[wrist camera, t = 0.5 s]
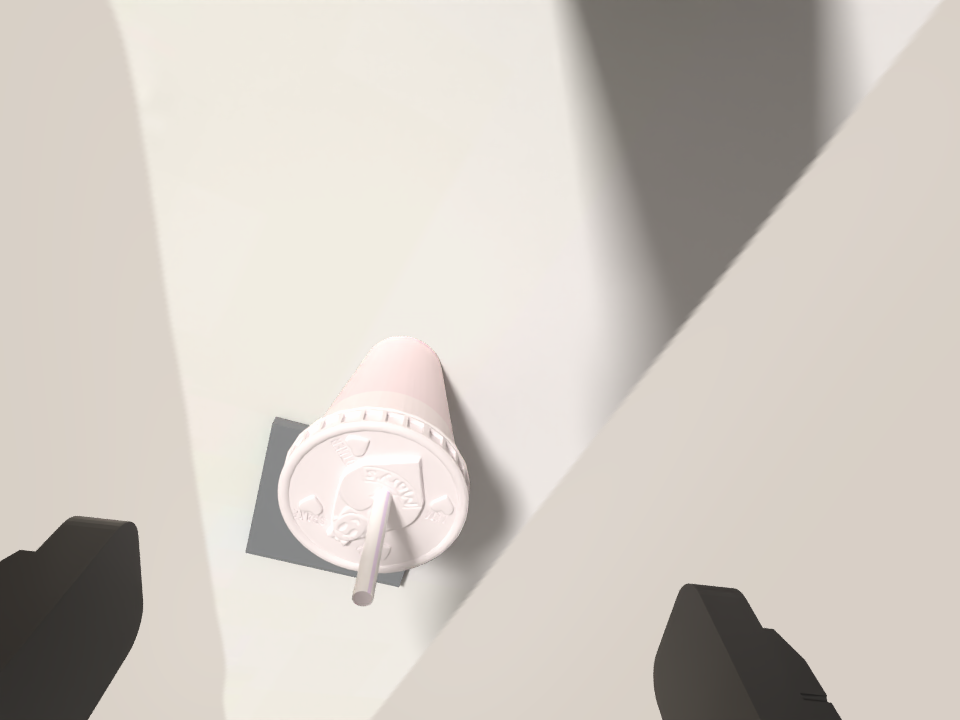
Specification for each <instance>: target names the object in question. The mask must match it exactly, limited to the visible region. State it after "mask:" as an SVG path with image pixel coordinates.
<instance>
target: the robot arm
mask: <svg viewBox="0 0 960 720" xmlns="http://www.w3.org/2000/svg"><path fill="white" fill-rule="evenodd" d="M142 613H143V594H142V580H141V566H140V552H139V539H138V531H137V527H136V526H135V524H134V523H132V522H127V521H118V520H110V519H101V518H91V517H82V516H74V517H71V518H69V519H68V520H66V521H65V522H64V523H63V524H62V525H61V526H60V527H59V528H58V529H57V530H56V531H55V532H54V533H53V534H52V535H51V536H50V537H49V538H48V539H47V540H46V541H45V542H44V544H43V545H42V546H41V547H40V548H39V549H38V550H37V551H36V552H34V551H25V550H19V551H17V552H16V553H14V554H12V555H11V556H9V557H7V558H5V559H3V560H2V561H1V562H0V720H88V719H89V717H90V715H91V714H92V712H93V710H94V709H95V707H96V705H97V704H98V702H99V701H100V699H101V697H102V696H103V694H104V692H105V691H106V689H107V687H108V686H109V684H110V683H111V681H112V679H113V678H114V676H115V674H116V673H117V671H118V670H119V668H120V666H121V665H122V663H123V661H124V660H125V658H126V657H127V655H128V653H129V651H130V650H131V648H132V646H133V644H134V641H135V639H136V636H137V633H138V630H139V627H140V623H141V618H142ZM653 674H654V675H653V676H654V690H655V695H656V700H657V704H658V707H659V710H660V713H661V716H662V719H663V720H842V719H841V718H840V716H839V714H838V713H837V712H836V710H835V708H834V706H833V705H832V703H829V702H827V698H826V697H827V695H826V693H825V692H824V690H823V688H822V687H821V685H820V684H819V682H818V680H817V679H816V677H815V676H814V674H813V672H812V671H811V669H810V667H809V666H808V664H807V663H806V661H805V660H804V659H803V658H802V657H801V656H800V655H799V654H798V653H797V652H796V651H795V650H794V649H793V648H792V647H791V646H790V645H789V644H788V643H787V642H786V641H785V640H784V639H783V638H782V637H781V636H780V635H779V634H778V633H777V632H776V631H775V630H774V629H767V628H762V626H761V624H760V622H759V621H758V619H757V617H756V615H755V614H754V612H753V610H752V609H751V607H750V605H749V603H748V602H747V600H746V598H745V597H744V595H743V594H742V593H741V592H740V591H739V590H737V589H734V588H725V587H715V586H706V585H697V584H686V585H684V586H683V587H682V588H681V590H680V591H679V594H678V596H677V599H676V601H675V604H674V607H673V610H672V613H671V615H670V618H669V621H668V623H667V626H666V629H665V632H664V634H663V637H662V640H661V643H660V645H659V648H658V651H657V654H656V657H655V663H654V673H653Z"/></svg>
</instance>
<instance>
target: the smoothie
mask: <svg viewBox="0 0 960 720" xmlns="http://www.w3.org/2000/svg"><path fill="white" fill-rule="evenodd" d="M469 492H470V479H469V475H468V470H467V466H466V462H465V461H464V459H463V457H462V455H461V454H460V452H459V450H458V448H457V447H456V445H455V441H454V436H453V430H452V425H451V419H450V413H449V408H448V402H447V396H446V390H445V385H444V379H443V373H442V368H441V363H440V361H439V358H438V356H437V355H436V353H435V352H434V351H433V350H432V348H430V347H429V346H428V345H427V344H426V343H424V342H422V341H420V340H418V339H416V338H412V337H408V336H394V337H390V338H387V339H384V340H382V341H380V342H379V343H377V344H376V345H375V346H374V347H373V348H372V349H371V350H370V351H369V353H368V354H367V355H366V357H365V358H364V360H363V361H362V362H361V364H360V365H359V367H358V368H357V369H356V371H355V372H354V374H353V375H352V377H351V378H350V379H349V381H348V382H347V384H346V385H345V386H344V388H343V389H342V391H341V392H340V393H339V395H338V396H337V398H336V399H335V400H334V402H333V403H332V405H331V406H330V408H329V409H328V410H327V412H326V413H325V414H324V416H323V417H322V418H320V419H318V420H317V421H315V422H314V423H313V424H311V425H310V426H309V427H308V428H306V429H305V430H304V431H303V432H301V433H300V434H299V436H298V437H297V439H296V440H295V442H294V443H293V445H292V446H291V448H290V449H289V451H288V453H287V456H286V460H285V464H284V467H283V469H282V471H281V474H280V478H279V482H278V502H279V507H280V510H281V514H282V516H283V519H284V521H285V523H286V524H287V526H288V528H289V529H290V531H291V532H292V534H293V535H294V536H295V537H296V538H297V540H298V541H299V542H300V543H301V544H302V545H303V546H305V547H306V548H307V549H308V550H310V551H311V552H312V553H314V554H315V555H317V556H318V557H320V558H322V559H324V560H325V561H328V562H330V563H332V564H334V565H337V566H340V567H343V568H346V569H349V570H354V571H358V573H357V578H356V582H355V587H354V591H353V596H352V600H353V602H354V603H355V604H357V605H359V606H368V605H370V604H371V603H372V602H373V598H374V593H375V587H376V582H377V576H378V573H393V572H399V571H404V570H408V569H412V568H415V567H418V566H420V565H423V564H425V563H427V562H429V561H431V560H433V559H434V558H436V557H437V556H439V555H440V554H441V553H443V552H444V551H445V550H446V549H447V548H448V547H449V546H451V544H452V543H453V542H454V541H455V540H456V538H457V537H458V535H459V534H460V532H461V530H462V528H463V526H464V523H465V521H466V517H467V513H468V502H469Z"/></svg>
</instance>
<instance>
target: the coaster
mask: <svg viewBox="0 0 960 720" xmlns="http://www.w3.org/2000/svg"><path fill="white" fill-rule="evenodd" d="M308 427H309V425H305V424H301V423H298V422H294V421H290V420H286V419H282V418H278V417H276V418H275V420H274V422H273V423H272V428H271V433H270V438H269V443H268V447H267V452H266V457H265V462H264V466H263V471H262V476H261V481H260V486H259V490H258V495H257V500H256V505H255V509H254V514H253V519H252V524H251V529H250V533H249V538H248V543H247V548H246V552H245V553H249V554H254V555H258V556H263V557H267V558H272V559H276V560H281V561H285V562H289V563H294V564H298V565H303V566H307V567H312V568H316V569H320V570H325V571H329V572H334V573H338V574H343V575H347V576H351V577H356V578H357V573H358V571H354V570H349V569H346V568H343V567H340V566H337V565H334V564H332V563H330V562H328V561H325V560H324V559H322V558H320V557H318V556H317V555H315V554H314V553H312V552H311V551H310V550H308V549H307V548H306V547H305V546H303V545H302V544H301V543H300V542H299V541H298V540H297V538H296V537H295V536H294V535H293V534H292V532H291V531H290V529H289V528H288V526H287V524H286V523H285V521H284V519H283V516H282V514H281V510H280V507H279V502H278V482H279V478H280V474H281V471H282V469H283V467H284V464H285V460H286V456H287V453H288V451H289V449H290V448H291V446H292V445H293V443H294V442H295V440H296V439H297V437H298V436H299V434H300V433H301V432H303V431H304V430H305V429H306V428H308ZM404 572H405V570H404V571H399V572H393V573H378V576H377V582H378V583H383V584H387V585H391V586H396V587H399V586H400V583H401V580H402V578H403V575H404Z"/></svg>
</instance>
